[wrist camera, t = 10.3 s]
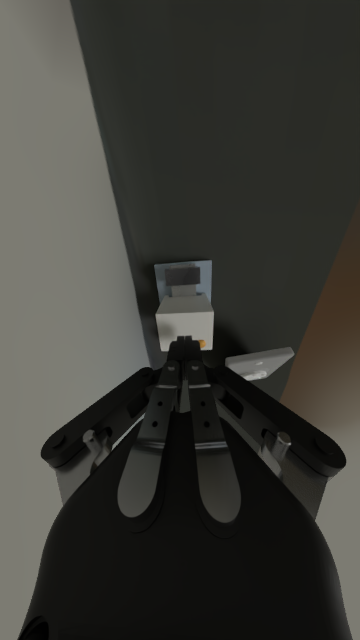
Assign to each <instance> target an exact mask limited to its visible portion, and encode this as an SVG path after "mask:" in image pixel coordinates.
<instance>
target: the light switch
mask: <svg viewBox="0 0 360 640" xmlns="http://www.w3.org/2000/svg"><path fill="white" fill-rule="evenodd" d="M293 355H294V352H293V351H292V349H291V347H287V348H281V349H275V350H269V351H263V352H257V353H251V354H245V355H239V356H234V357H228V358H226V360H225V366H226V367H228V368H230V369H231V370H233V371H234V372H236V373H237V374H239V375H240V376H242V377H243V378H245V379H246V380H247V381H248V380H255V379H262V378H266V377H268V376H269V375H270V374H271V373H272V372H274V371H275V370H276V369H277V368H279V367H280V366H281V365H282V364H284V363H285V362H286V361H287V360H288V359H290V358H291V357H292V356H293Z"/></svg>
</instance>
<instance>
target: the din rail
mask: <svg viewBox="0 0 360 640" xmlns="http://www.w3.org/2000/svg"><path fill="white" fill-rule="evenodd" d="M164 271H165V279H166V286H171V289H172V297H182V296H196V284H200V267H199V266H196V264H195V263H193V264H180V265H170V266H169V269H165V270H164Z"/></svg>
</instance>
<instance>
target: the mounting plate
mask: <svg viewBox="0 0 360 640" xmlns="http://www.w3.org/2000/svg"><path fill="white" fill-rule="evenodd" d="M193 263H195V264H196V266H199V267H200V284H196V296H200V295H202V293H206V295H207V298H208V300H209V302H210V304H211V269H212V260H202V261H189V262H176V263H164V264H155V265H154V268H155V274H156V281H157V288H158V294H159V301H160V304H161V302H162V300H163V298H164V296H165V295H169V297H172V289H171V286H166V279H165V271H164V270H165V269H169V266H170V265H180V264H193Z"/></svg>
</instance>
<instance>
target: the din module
mask: <svg viewBox="0 0 360 640" xmlns="http://www.w3.org/2000/svg"><path fill="white" fill-rule="evenodd" d="M155 315H156V321H157V327H158V333H159V339H160V345H161V351H169V346H170V343H171V342H172V341H177V336H184V337H185V336H189V335H192V340H198V342H199V343H200V348H201V350H212V343H213V320H214V311H213V309H212V306H211V304H210V302H209V300H208V298H207V295H206V293H202V295H200V296H182V297H169V295H165V296H164V298H163V300H162V302H161V304H160V306H159V308H158V310H157V312H156V314H155Z"/></svg>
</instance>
